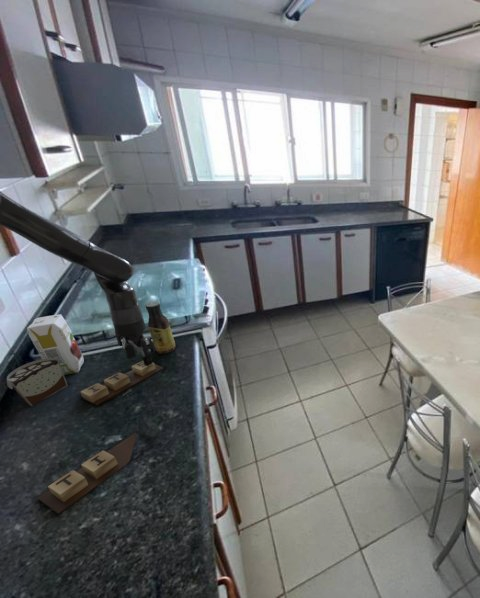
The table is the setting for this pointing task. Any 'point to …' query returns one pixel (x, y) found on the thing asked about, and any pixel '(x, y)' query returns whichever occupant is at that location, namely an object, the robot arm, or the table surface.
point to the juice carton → (56, 342)
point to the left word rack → (87, 476)
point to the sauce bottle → (160, 329)
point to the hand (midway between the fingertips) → (140, 360)
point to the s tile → (142, 368)
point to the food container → (37, 380)
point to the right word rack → (114, 386)
